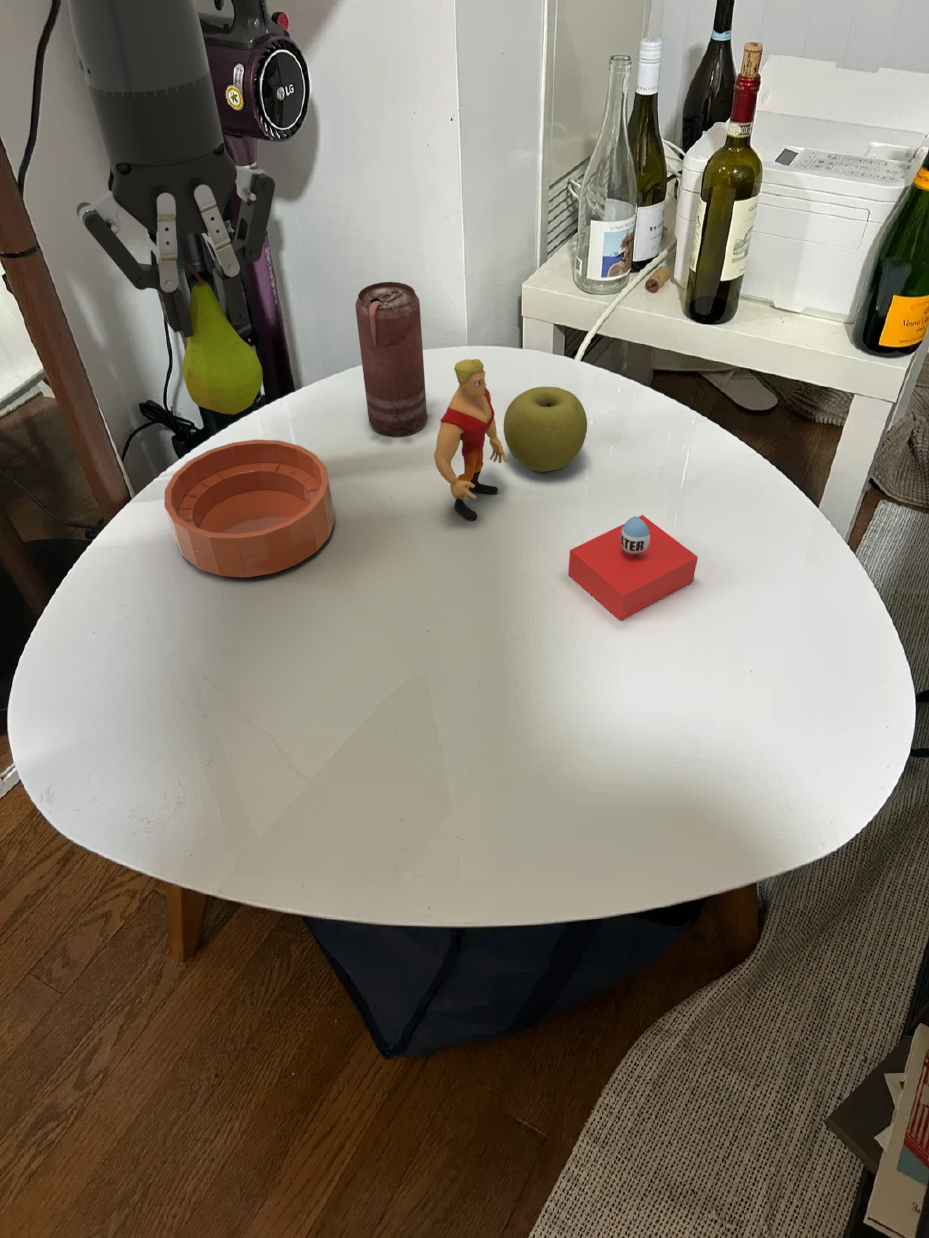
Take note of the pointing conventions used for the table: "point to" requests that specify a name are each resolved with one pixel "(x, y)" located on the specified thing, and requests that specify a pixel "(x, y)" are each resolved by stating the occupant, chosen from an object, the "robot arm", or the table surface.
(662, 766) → the table surface
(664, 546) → the red rectangular block
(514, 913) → the table surface
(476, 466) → the action figure
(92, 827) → the table surface
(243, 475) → the bowl
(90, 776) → the table surface
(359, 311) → the can
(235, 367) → the fruit
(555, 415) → the apple
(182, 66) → the robot arm
